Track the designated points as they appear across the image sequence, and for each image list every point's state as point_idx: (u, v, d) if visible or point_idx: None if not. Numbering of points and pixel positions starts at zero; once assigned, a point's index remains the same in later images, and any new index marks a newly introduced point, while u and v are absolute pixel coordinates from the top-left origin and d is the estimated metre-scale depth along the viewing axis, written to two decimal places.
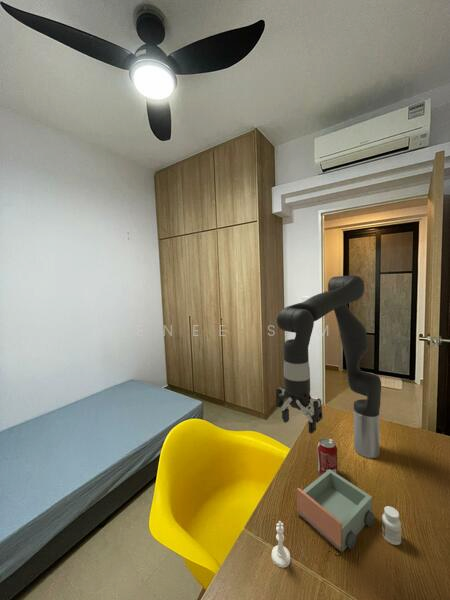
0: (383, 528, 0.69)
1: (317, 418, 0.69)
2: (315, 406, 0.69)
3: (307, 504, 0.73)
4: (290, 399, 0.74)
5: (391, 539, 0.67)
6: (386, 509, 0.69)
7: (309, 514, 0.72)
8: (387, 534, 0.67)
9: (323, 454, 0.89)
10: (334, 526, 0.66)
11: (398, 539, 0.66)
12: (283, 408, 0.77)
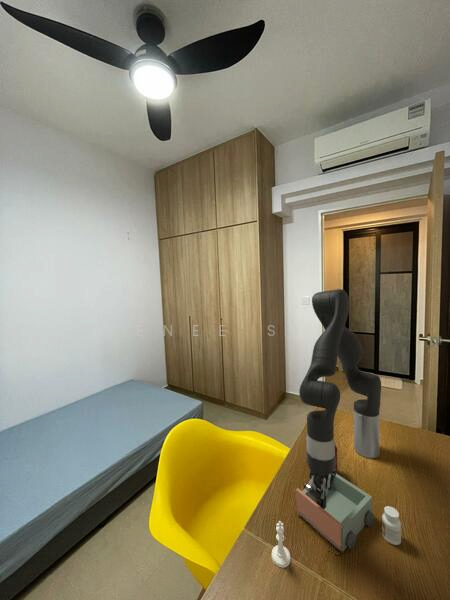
0: (383, 528, 0.69)
1: (331, 486, 0.72)
2: (334, 474, 0.73)
3: (306, 505, 0.73)
4: (324, 480, 0.68)
5: (391, 539, 0.67)
6: (386, 509, 0.69)
7: (309, 514, 0.72)
8: (387, 534, 0.67)
9: None
10: (333, 527, 0.66)
11: (398, 539, 0.66)
12: (324, 495, 0.70)
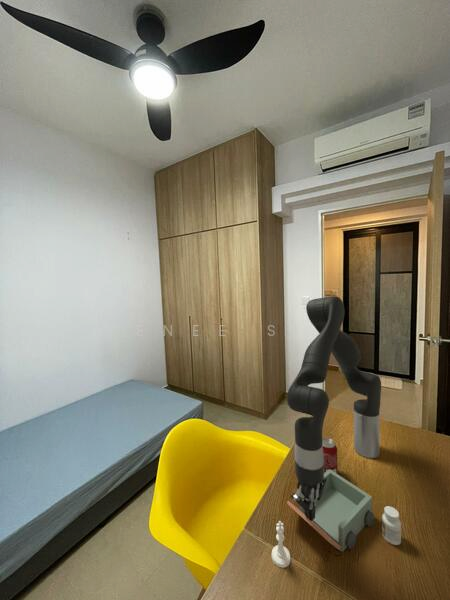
0: (383, 528, 0.69)
1: (320, 496, 0.69)
2: (324, 483, 0.70)
3: None
4: (312, 490, 0.66)
5: (391, 539, 0.67)
6: (386, 509, 0.69)
7: None
8: (387, 534, 0.67)
9: (323, 454, 0.89)
10: None
11: (398, 539, 0.66)
12: (312, 505, 0.67)
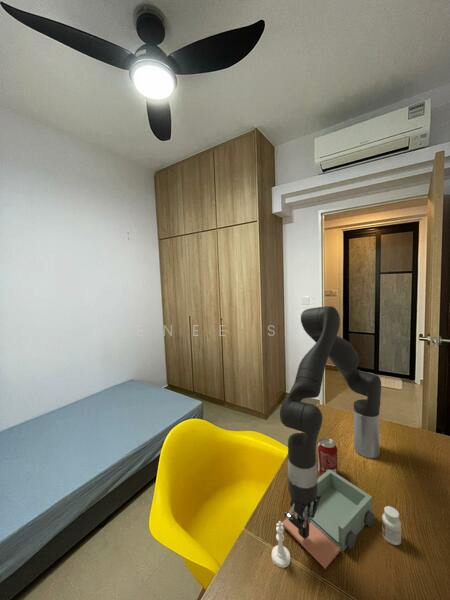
0: (383, 528, 0.69)
1: (314, 513, 0.68)
2: (318, 500, 0.68)
3: None
4: (306, 508, 0.64)
5: (391, 539, 0.67)
6: (386, 509, 0.69)
7: None
8: (387, 534, 0.67)
9: (323, 454, 0.89)
10: None
11: (398, 539, 0.66)
12: (306, 523, 0.66)
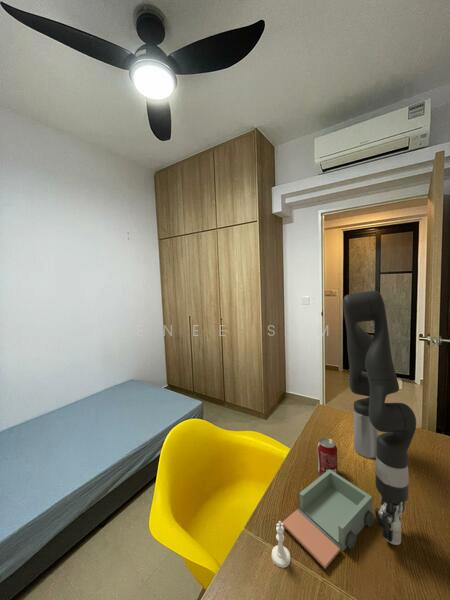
0: None
1: (404, 507, 0.70)
2: None
3: None
4: (397, 507, 0.66)
5: None
6: None
7: None
8: None
9: (323, 454, 0.89)
10: None
11: (398, 539, 0.66)
12: (392, 526, 0.66)
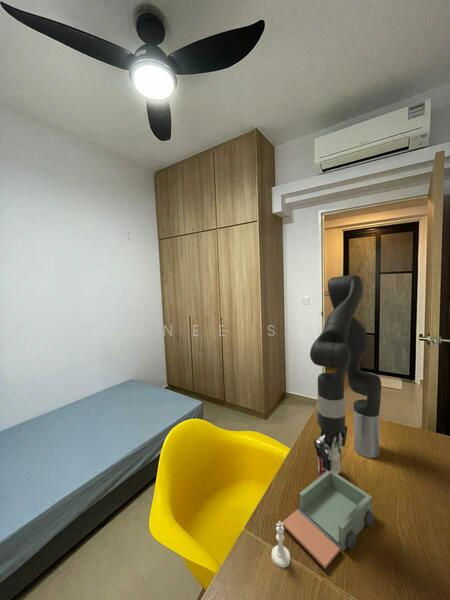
0: None
1: (344, 442, 0.75)
2: (345, 431, 0.75)
3: None
4: (335, 438, 0.70)
5: None
6: None
7: None
8: None
9: None
10: None
11: (336, 468, 0.71)
12: (330, 456, 0.71)
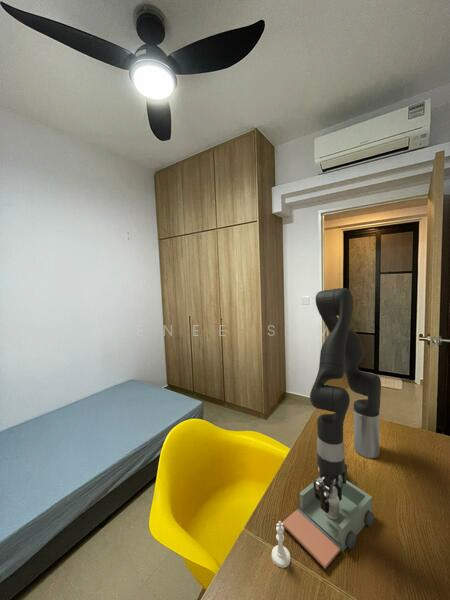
0: None
1: (345, 479, 0.76)
2: (345, 469, 0.76)
3: None
4: (334, 480, 0.71)
5: (329, 514, 0.73)
6: (327, 487, 0.75)
7: None
8: None
9: None
10: None
11: (335, 513, 0.72)
12: (328, 498, 0.71)
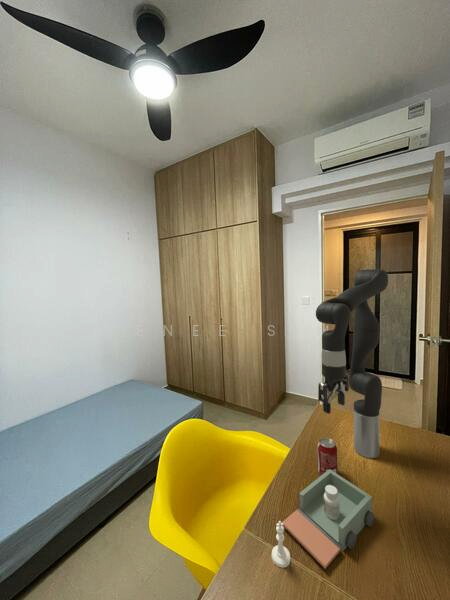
0: (324, 505, 0.75)
1: (348, 387, 0.87)
2: (347, 379, 0.86)
3: None
4: (337, 385, 0.81)
5: (329, 514, 0.73)
6: (327, 487, 0.75)
7: None
8: (326, 509, 0.74)
9: (323, 454, 0.89)
10: None
11: (335, 514, 0.72)
12: (330, 400, 0.81)
